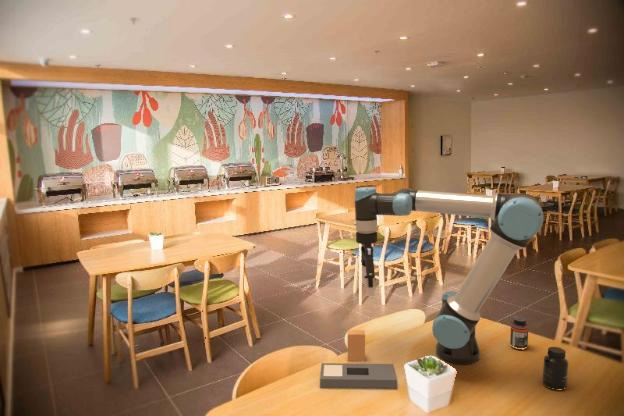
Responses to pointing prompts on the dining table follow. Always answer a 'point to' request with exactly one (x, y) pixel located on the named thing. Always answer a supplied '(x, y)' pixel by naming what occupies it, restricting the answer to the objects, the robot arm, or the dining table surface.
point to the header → (358, 376)
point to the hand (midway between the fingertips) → (368, 289)
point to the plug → (356, 345)
